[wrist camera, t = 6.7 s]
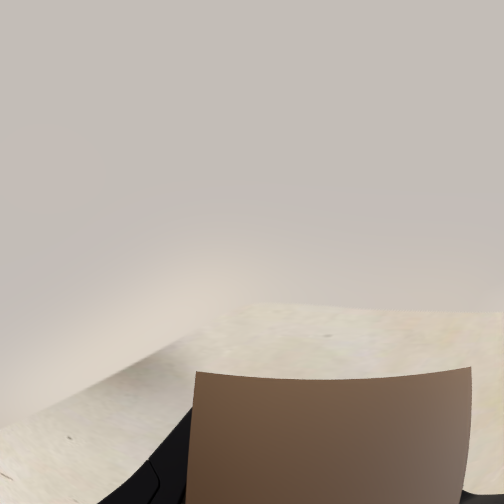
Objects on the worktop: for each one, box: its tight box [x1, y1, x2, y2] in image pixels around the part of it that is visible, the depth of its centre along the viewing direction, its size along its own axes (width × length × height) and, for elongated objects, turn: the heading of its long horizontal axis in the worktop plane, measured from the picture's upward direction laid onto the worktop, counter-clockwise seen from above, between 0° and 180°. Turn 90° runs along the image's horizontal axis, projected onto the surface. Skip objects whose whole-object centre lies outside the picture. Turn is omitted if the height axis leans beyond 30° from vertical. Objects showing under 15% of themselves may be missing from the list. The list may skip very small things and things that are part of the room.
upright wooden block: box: [186, 367, 472, 504], centre depth 8 cm, size 4×4×13 cm
